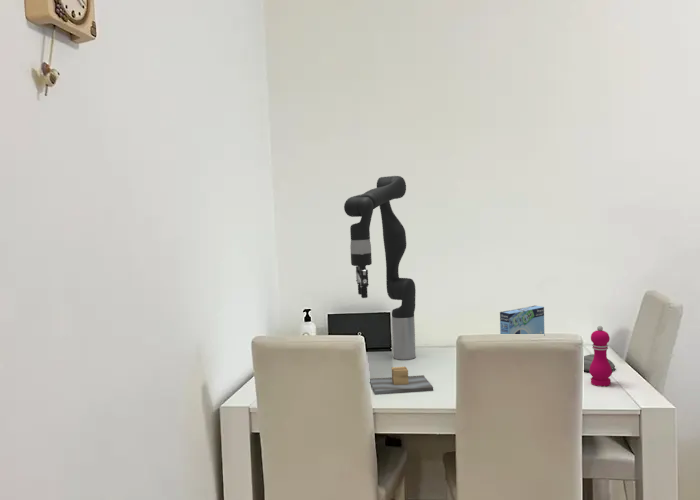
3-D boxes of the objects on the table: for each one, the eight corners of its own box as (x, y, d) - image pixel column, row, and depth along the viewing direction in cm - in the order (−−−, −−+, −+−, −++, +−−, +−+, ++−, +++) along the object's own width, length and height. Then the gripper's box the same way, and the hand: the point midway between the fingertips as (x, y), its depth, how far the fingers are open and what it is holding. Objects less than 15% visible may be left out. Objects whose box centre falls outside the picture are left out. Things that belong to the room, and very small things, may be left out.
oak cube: (392, 381, 233) (391, 367, 232) (405, 380, 233) (405, 366, 233) (394, 385, 228) (393, 370, 227) (408, 384, 228) (407, 370, 228)
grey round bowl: (574, 373, 239) (573, 359, 238) (570, 363, 253) (570, 349, 253) (618, 374, 235) (617, 359, 235) (611, 364, 250) (611, 350, 249)
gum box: (535, 363, 254) (534, 305, 253) (546, 366, 250) (545, 306, 248) (500, 372, 244) (498, 311, 242) (510, 375, 239) (509, 313, 238)
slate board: (369, 381, 238) (369, 378, 237) (423, 378, 239) (423, 375, 239) (375, 394, 222) (374, 391, 222) (433, 390, 223) (433, 387, 223)
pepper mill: (611, 381, 226) (610, 324, 224) (612, 387, 219) (611, 328, 218) (589, 380, 228) (588, 323, 227) (589, 386, 221) (588, 327, 220)
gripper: (348, 251, 246) (350, 294, 247) (353, 254, 232) (355, 299, 233) (368, 250, 247) (370, 292, 248) (374, 253, 233) (376, 298, 234)
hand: (362, 296), depth 240 cm, fingers open, 8 cm apart
